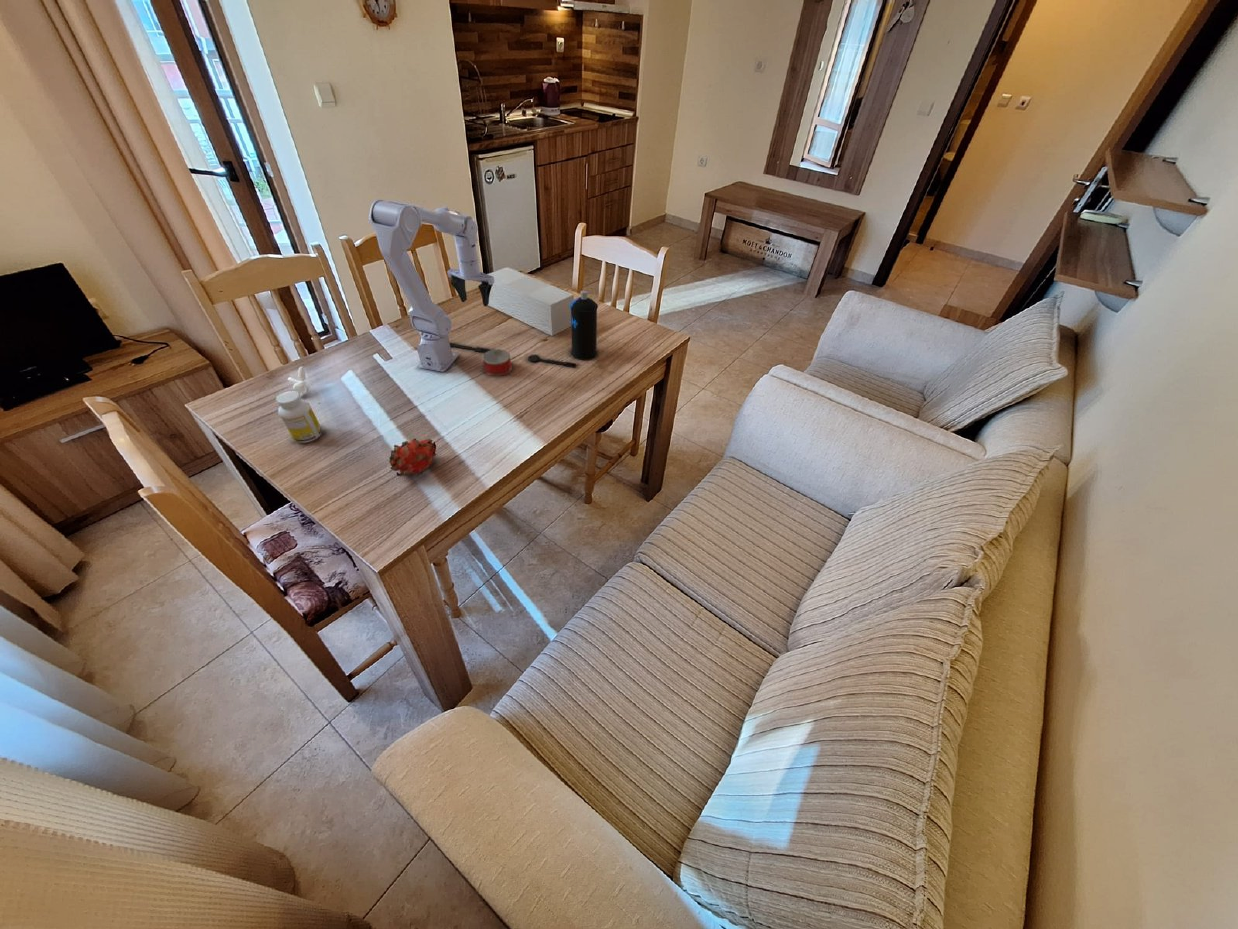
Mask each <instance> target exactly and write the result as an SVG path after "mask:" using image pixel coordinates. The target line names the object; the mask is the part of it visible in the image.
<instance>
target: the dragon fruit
mask: <svg viewBox="0 0 1238 929" xmlns="http://www.w3.org/2000/svg"><path fill="white" fill-rule="evenodd" d="M436 451H437V444H436V442H435V441H433V440H432V439H430V438H425V439H422V440H420V441H419V440H418V439H417V438H416V437H415V438H412V440H411V441H410V442H409V441H408V440H406V441H402V443H401V445H398V444H394V445H393V450H390V456H389V458H388V459H389V460H388V462H389V464H390V466H391V467H390V469H391V470H392V471H394V472H396V476H397V477H403V476H406V475H407V476H409V475H412V474H417V475H421V476H423V475H424V473H425V471H424V470H425V469H428V468H430V467H431V465H432V464H433V462H434V460H435V457H436V456H437V453H436ZM398 471H399V472H400V473H399V472H398Z"/></svg>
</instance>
